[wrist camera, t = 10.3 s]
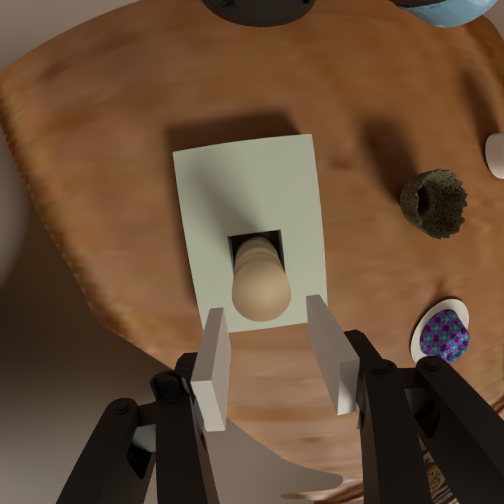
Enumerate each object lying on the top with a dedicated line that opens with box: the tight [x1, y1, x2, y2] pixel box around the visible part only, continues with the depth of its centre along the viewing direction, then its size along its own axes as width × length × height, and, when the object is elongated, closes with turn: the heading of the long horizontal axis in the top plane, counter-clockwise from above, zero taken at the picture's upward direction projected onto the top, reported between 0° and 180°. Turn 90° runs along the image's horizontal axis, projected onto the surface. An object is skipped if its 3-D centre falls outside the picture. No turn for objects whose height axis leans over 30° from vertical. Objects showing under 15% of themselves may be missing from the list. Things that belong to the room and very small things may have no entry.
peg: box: [232, 236, 291, 322], centre depth 27 cm, size 4×4×14 cm
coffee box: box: [423, 452, 458, 504], centre depth 38 cm, size 9×6×16 cm
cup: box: [399, 169, 468, 239], centre depth 29 cm, size 8×7×8 cm
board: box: [173, 134, 327, 333], centre depth 32 cm, size 20×14×4 cm
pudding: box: [411, 299, 470, 364], centre depth 36 cm, size 12×12×5 cm
